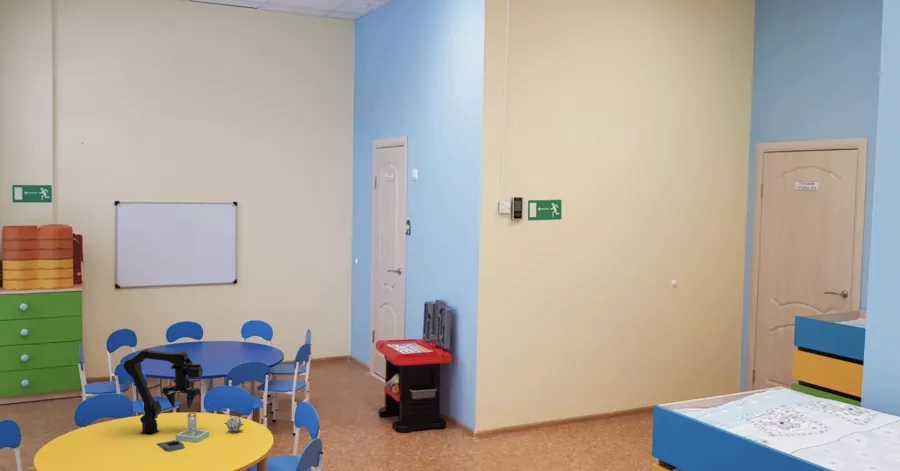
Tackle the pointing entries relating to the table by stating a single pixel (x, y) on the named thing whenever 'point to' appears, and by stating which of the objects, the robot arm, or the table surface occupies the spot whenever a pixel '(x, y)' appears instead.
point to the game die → (234, 423)
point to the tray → (184, 436)
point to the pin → (192, 425)
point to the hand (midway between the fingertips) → (181, 407)
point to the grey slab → (171, 445)
